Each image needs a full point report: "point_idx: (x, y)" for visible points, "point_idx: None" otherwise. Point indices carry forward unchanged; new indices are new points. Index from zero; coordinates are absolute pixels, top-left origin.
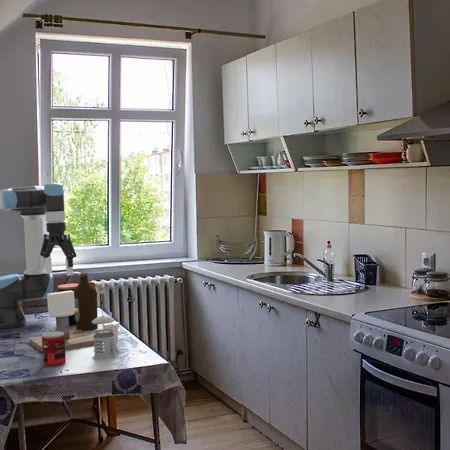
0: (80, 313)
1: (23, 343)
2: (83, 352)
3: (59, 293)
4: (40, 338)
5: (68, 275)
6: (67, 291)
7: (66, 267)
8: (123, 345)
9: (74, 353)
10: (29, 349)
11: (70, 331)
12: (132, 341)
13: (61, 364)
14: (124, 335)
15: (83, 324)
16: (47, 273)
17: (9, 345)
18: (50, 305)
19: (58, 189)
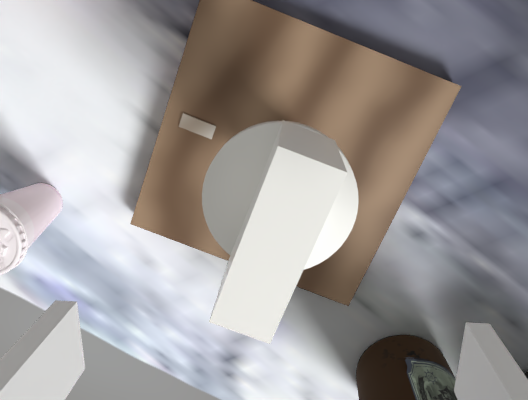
0: (404, 387)
1: (479, 66)
2: (80, 93)
3: (248, 223)
4: (398, 111)
5: (55, 310)
6: (258, 305)
7: (13, 363)
8: (36, 243)
9: (100, 62)
10: (352, 3)
11: (367, 266)
12: (58, 298)
13: None
14: (162, 349)
15: (384, 356)
16: (464, 334)
17: (521, 2)
18: (280, 130)
19: None
